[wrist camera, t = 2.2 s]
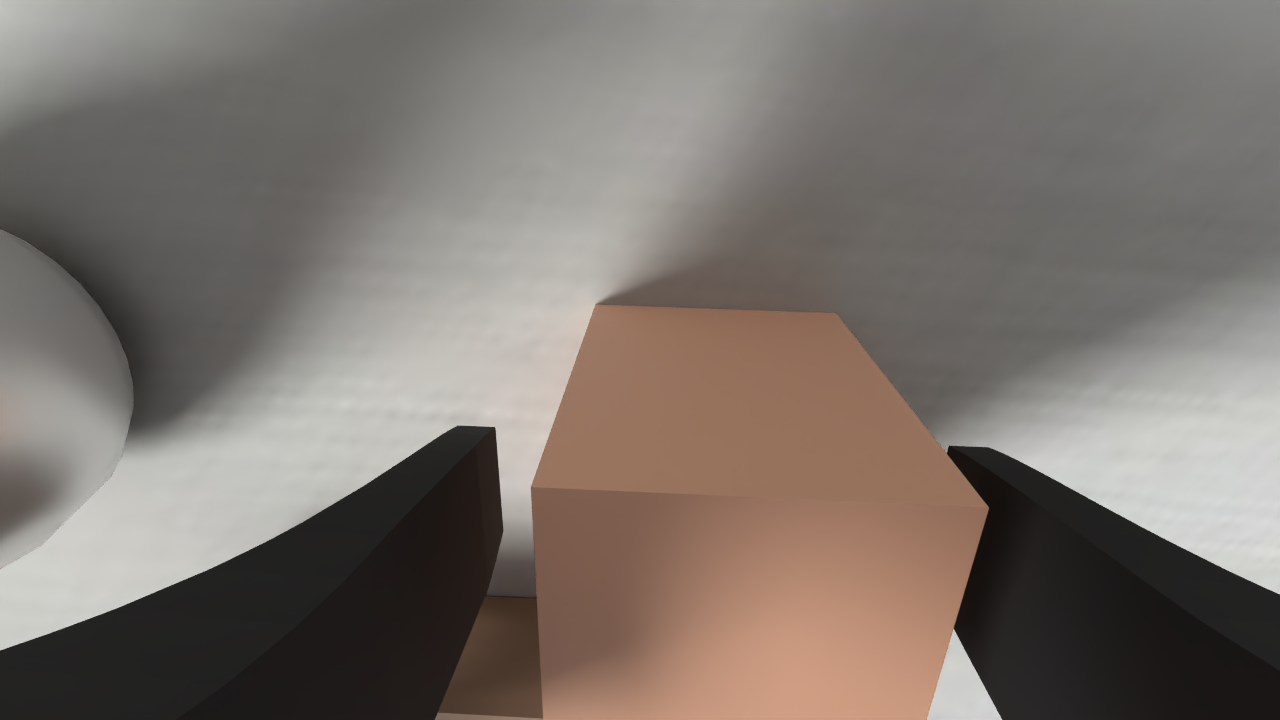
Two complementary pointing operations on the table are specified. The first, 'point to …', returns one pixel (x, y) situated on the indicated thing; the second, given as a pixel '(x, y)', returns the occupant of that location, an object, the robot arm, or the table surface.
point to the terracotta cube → (743, 526)
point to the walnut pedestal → (498, 665)
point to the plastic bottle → (53, 397)
